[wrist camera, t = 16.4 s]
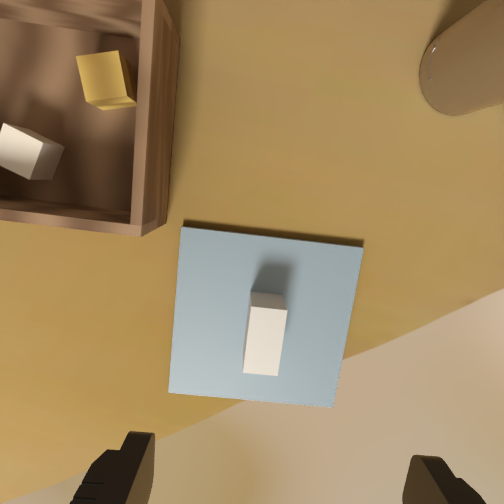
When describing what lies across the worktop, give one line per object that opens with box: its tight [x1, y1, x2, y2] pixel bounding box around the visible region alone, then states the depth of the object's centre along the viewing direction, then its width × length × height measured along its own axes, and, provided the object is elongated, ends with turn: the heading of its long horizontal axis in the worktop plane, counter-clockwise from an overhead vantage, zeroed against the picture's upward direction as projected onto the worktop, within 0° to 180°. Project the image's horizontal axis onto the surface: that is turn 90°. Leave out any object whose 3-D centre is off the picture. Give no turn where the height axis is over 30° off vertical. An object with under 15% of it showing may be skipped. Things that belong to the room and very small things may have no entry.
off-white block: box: [0, 123, 65, 180], centre depth 34 cm, size 4×4×4 cm
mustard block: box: [76, 51, 137, 110], centre depth 33 cm, size 4×4×4 cm
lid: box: [168, 226, 364, 407], centre depth 40 cm, size 22×22×7 cm
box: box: [0, 0, 180, 237], centre depth 32 cm, size 20×20×10 cm
